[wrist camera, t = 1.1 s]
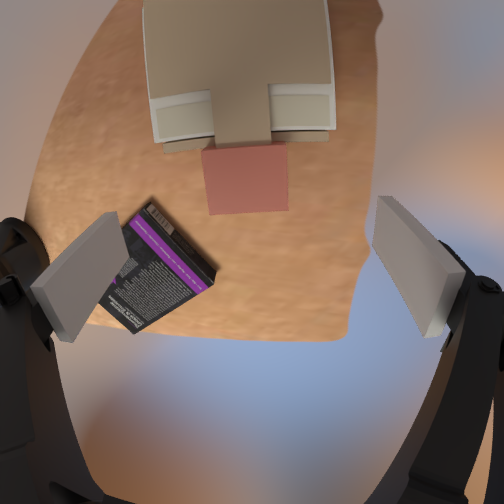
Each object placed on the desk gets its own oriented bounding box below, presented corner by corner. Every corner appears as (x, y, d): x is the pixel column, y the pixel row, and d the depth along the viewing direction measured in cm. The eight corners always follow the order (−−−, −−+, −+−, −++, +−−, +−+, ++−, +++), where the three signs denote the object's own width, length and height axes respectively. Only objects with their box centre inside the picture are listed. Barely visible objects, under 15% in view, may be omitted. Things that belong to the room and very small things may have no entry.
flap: (173, 209, 24) (166, 218, 22) (149, 1, 15) (140, -5, 13) (328, 200, 23) (333, 209, 21) (316, -16, 14) (321, -25, 12)
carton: (190, 135, 31) (156, 155, 21) (180, 34, 25) (141, 7, 14) (310, 127, 31) (336, 142, 20) (303, 24, 24) (325, -11, 14)
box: (152, 198, 37) (81, 270, 42) (143, 207, 33) (72, 281, 39) (218, 270, 42) (138, 324, 48) (215, 284, 39) (131, 337, 45)
